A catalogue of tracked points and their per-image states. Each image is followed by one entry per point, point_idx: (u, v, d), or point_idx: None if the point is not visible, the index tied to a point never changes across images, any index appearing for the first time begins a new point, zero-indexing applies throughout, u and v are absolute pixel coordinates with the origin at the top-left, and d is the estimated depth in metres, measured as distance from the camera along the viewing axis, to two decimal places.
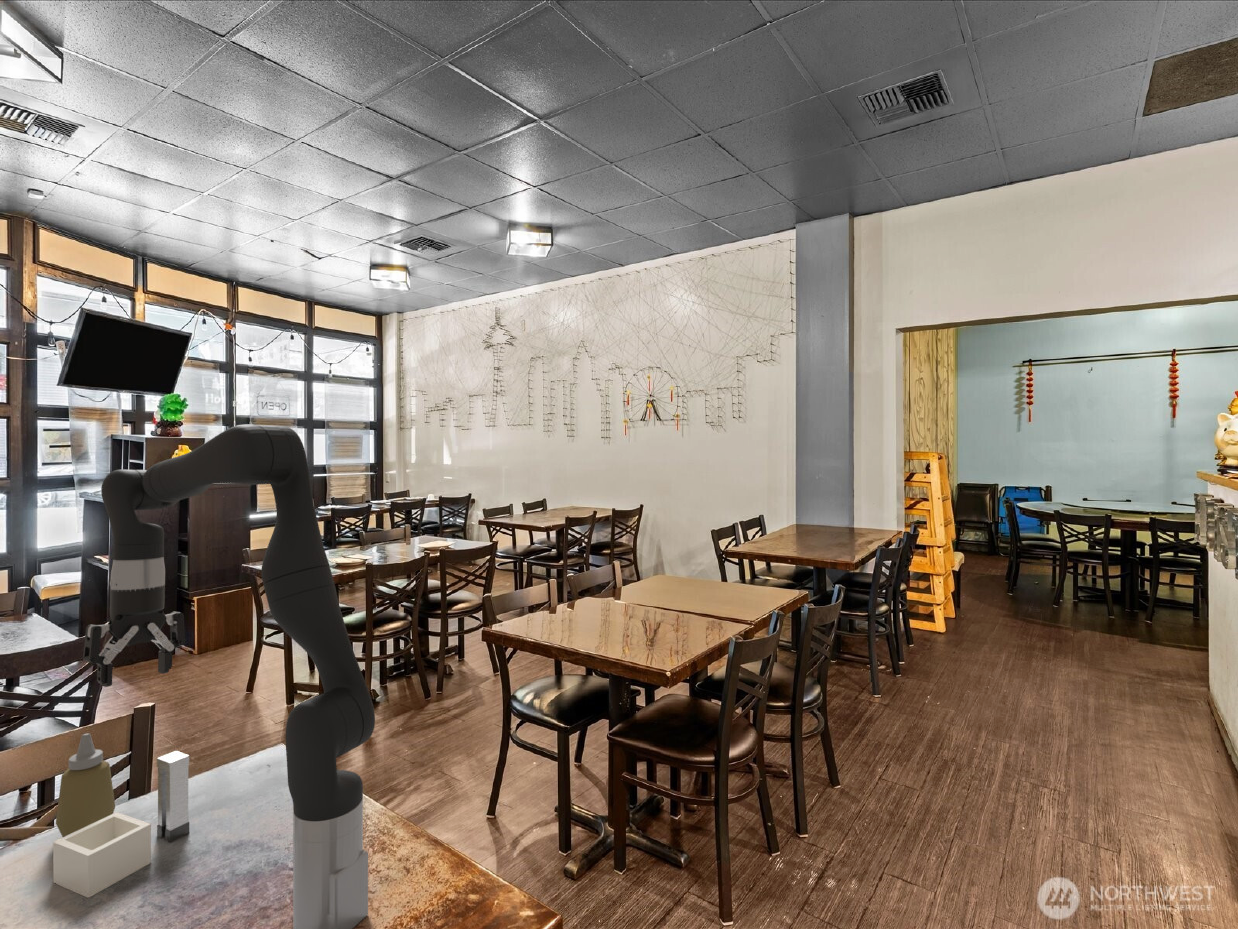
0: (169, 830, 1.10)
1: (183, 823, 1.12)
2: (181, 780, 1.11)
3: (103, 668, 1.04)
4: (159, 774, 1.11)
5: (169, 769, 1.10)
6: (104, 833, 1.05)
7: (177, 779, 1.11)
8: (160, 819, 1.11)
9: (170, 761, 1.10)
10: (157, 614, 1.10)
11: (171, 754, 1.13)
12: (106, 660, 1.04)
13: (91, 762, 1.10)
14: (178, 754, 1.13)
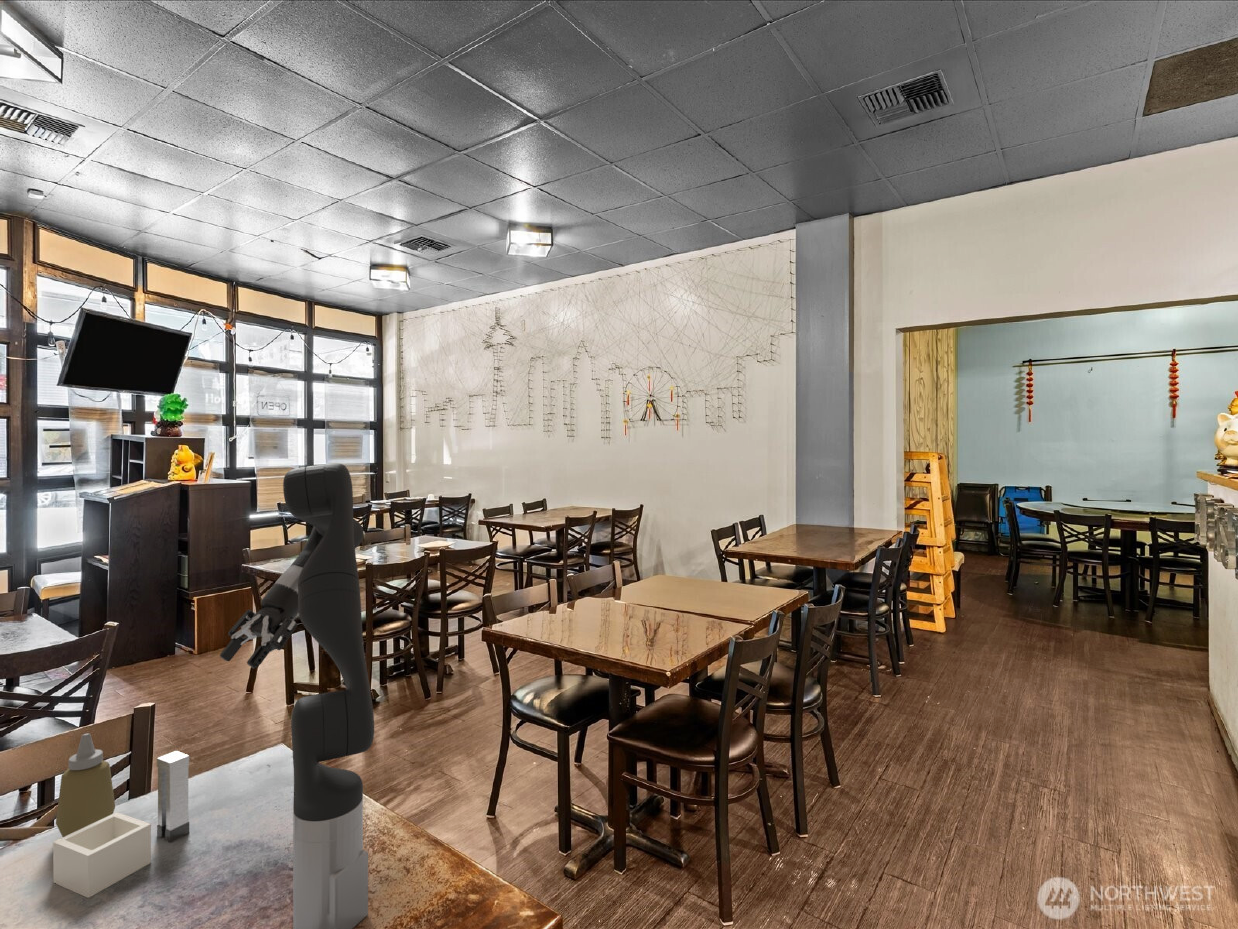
0: (169, 830, 1.10)
1: (183, 823, 1.12)
2: (181, 780, 1.11)
3: (230, 642, 1.26)
4: (159, 774, 1.11)
5: (169, 769, 1.10)
6: (104, 833, 1.05)
7: (177, 779, 1.11)
8: (160, 819, 1.11)
9: (170, 761, 1.10)
10: (278, 614, 1.27)
11: (171, 754, 1.13)
12: (233, 635, 1.26)
13: (91, 762, 1.10)
14: (178, 754, 1.13)
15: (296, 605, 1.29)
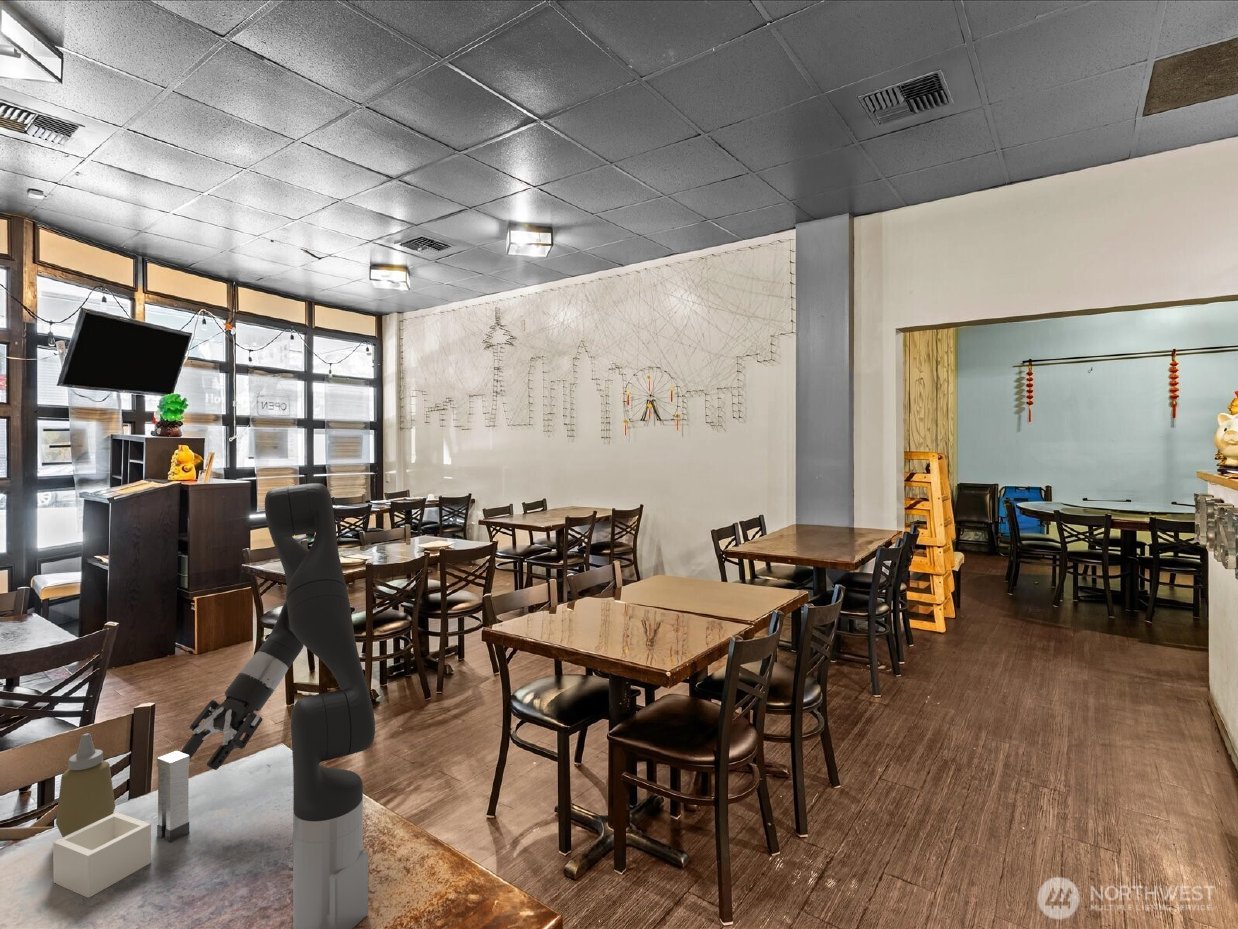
0: (169, 830, 1.10)
1: (183, 823, 1.12)
2: (181, 780, 1.11)
3: (191, 738, 1.19)
4: (159, 774, 1.11)
5: (169, 769, 1.10)
6: (104, 833, 1.05)
7: (177, 779, 1.11)
8: (160, 819, 1.11)
9: (170, 761, 1.10)
10: (242, 707, 1.20)
11: (171, 754, 1.13)
12: (195, 730, 1.20)
13: (91, 762, 1.10)
14: (178, 754, 1.13)
15: (262, 696, 1.22)
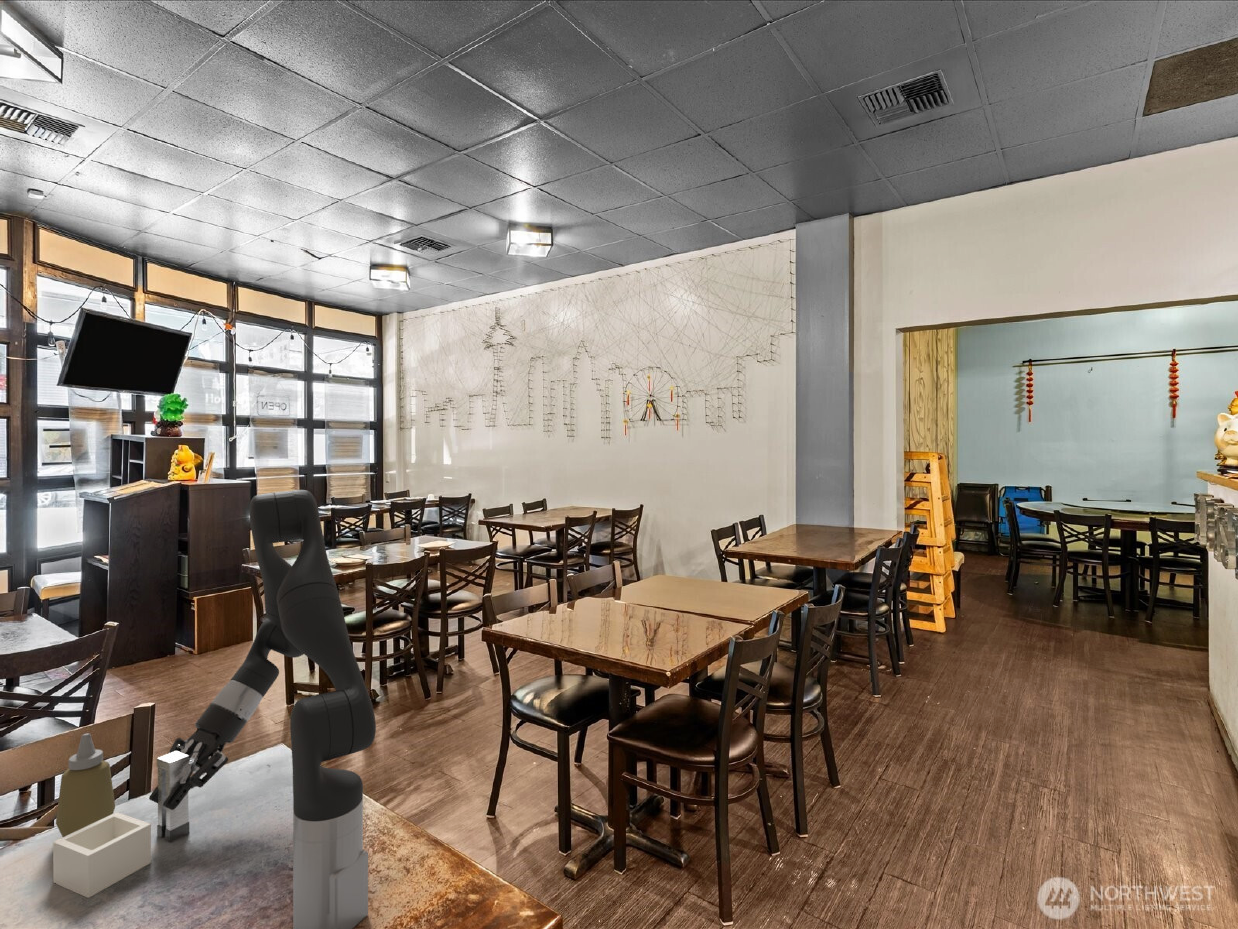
0: (169, 830, 1.10)
1: (183, 823, 1.12)
2: None
3: None
4: (159, 774, 1.11)
5: (169, 769, 1.10)
6: (104, 833, 1.05)
7: (177, 779, 1.11)
8: (160, 819, 1.11)
9: (170, 761, 1.10)
10: (213, 740, 1.15)
11: (171, 754, 1.13)
12: None
13: (91, 762, 1.10)
14: (178, 754, 1.13)
15: (234, 728, 1.18)
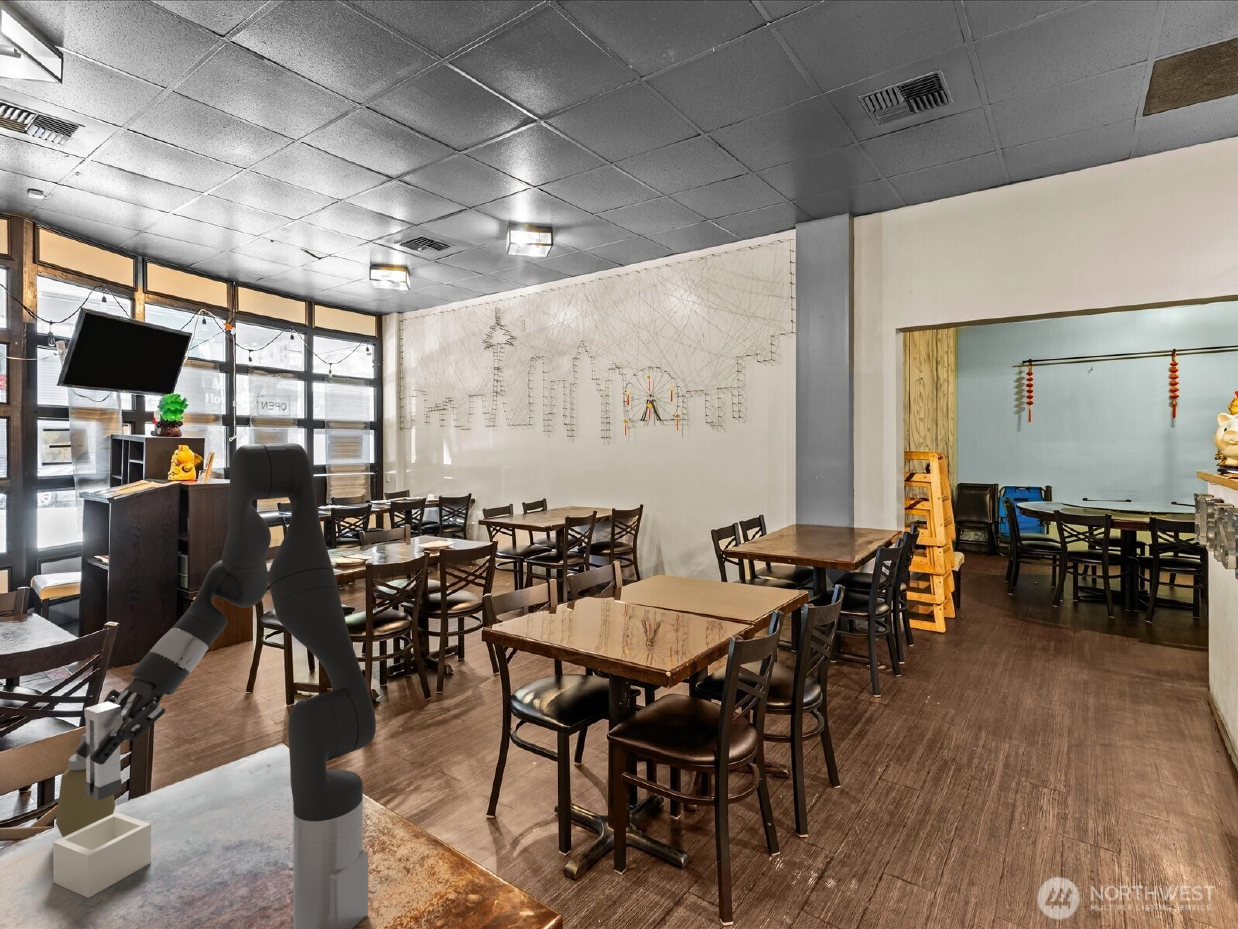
0: (98, 787, 1.00)
1: (114, 780, 1.01)
2: None
3: None
4: (87, 726, 1.01)
5: (97, 719, 0.99)
6: (104, 833, 1.05)
7: (107, 731, 1.00)
8: (88, 776, 1.01)
9: (98, 711, 1.00)
10: (149, 690, 1.05)
11: (101, 704, 1.02)
12: None
13: None
14: (109, 705, 1.02)
15: (173, 678, 1.07)
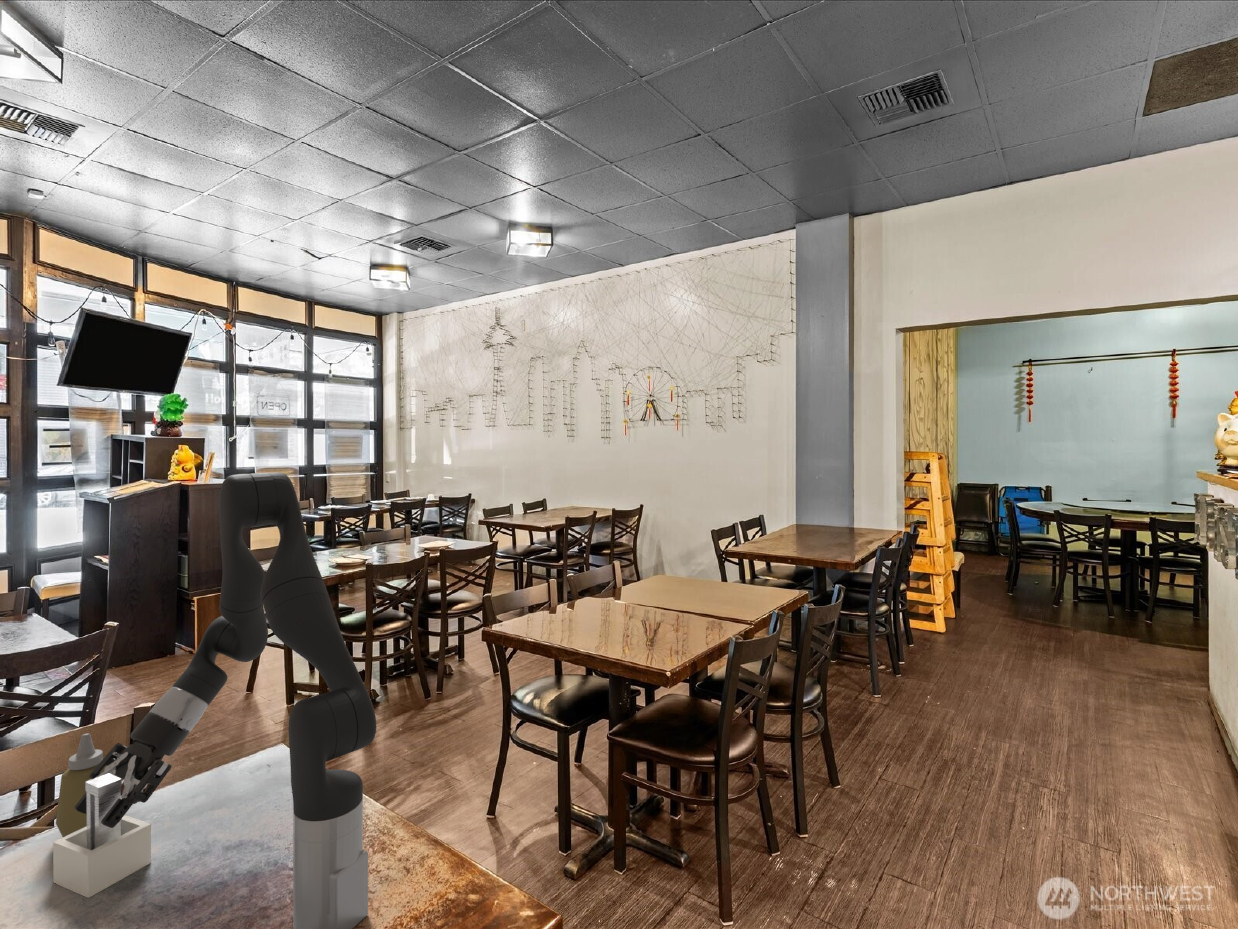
0: None
1: None
2: None
3: None
4: (88, 799, 1.01)
5: (97, 794, 1.00)
6: None
7: (107, 805, 1.01)
8: (89, 849, 1.01)
9: (99, 786, 1.00)
10: (149, 752, 1.05)
11: (102, 777, 1.02)
12: None
13: (91, 762, 1.10)
14: (110, 777, 1.02)
15: (173, 739, 1.07)
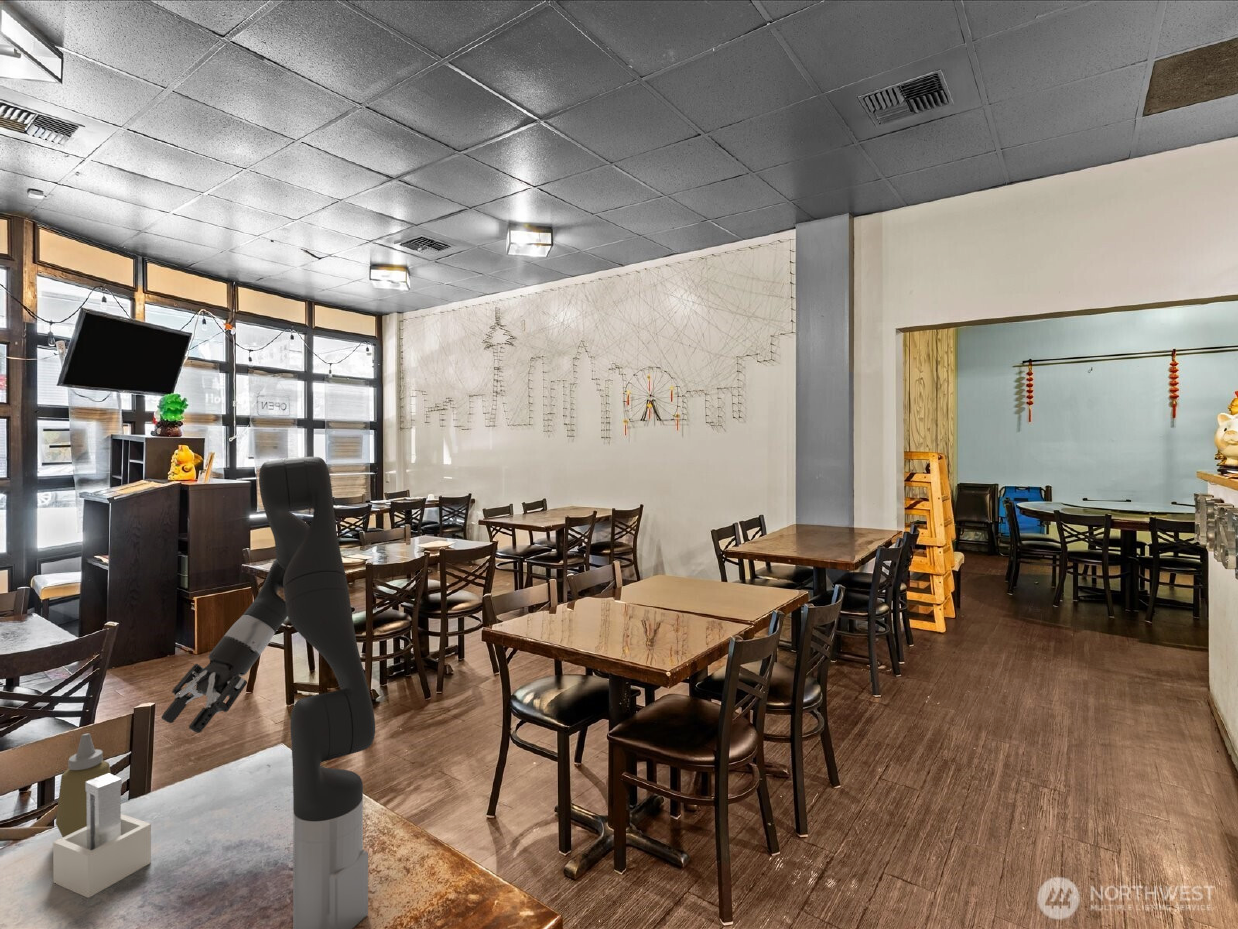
0: None
1: None
2: (112, 806, 1.01)
3: (173, 702, 1.16)
4: (88, 799, 1.01)
5: (97, 794, 1.00)
6: None
7: (107, 805, 1.01)
8: (89, 849, 1.01)
9: (99, 786, 1.00)
10: (226, 670, 1.17)
11: (102, 777, 1.02)
12: (177, 694, 1.16)
13: (91, 762, 1.10)
14: (110, 777, 1.02)
15: (247, 660, 1.19)
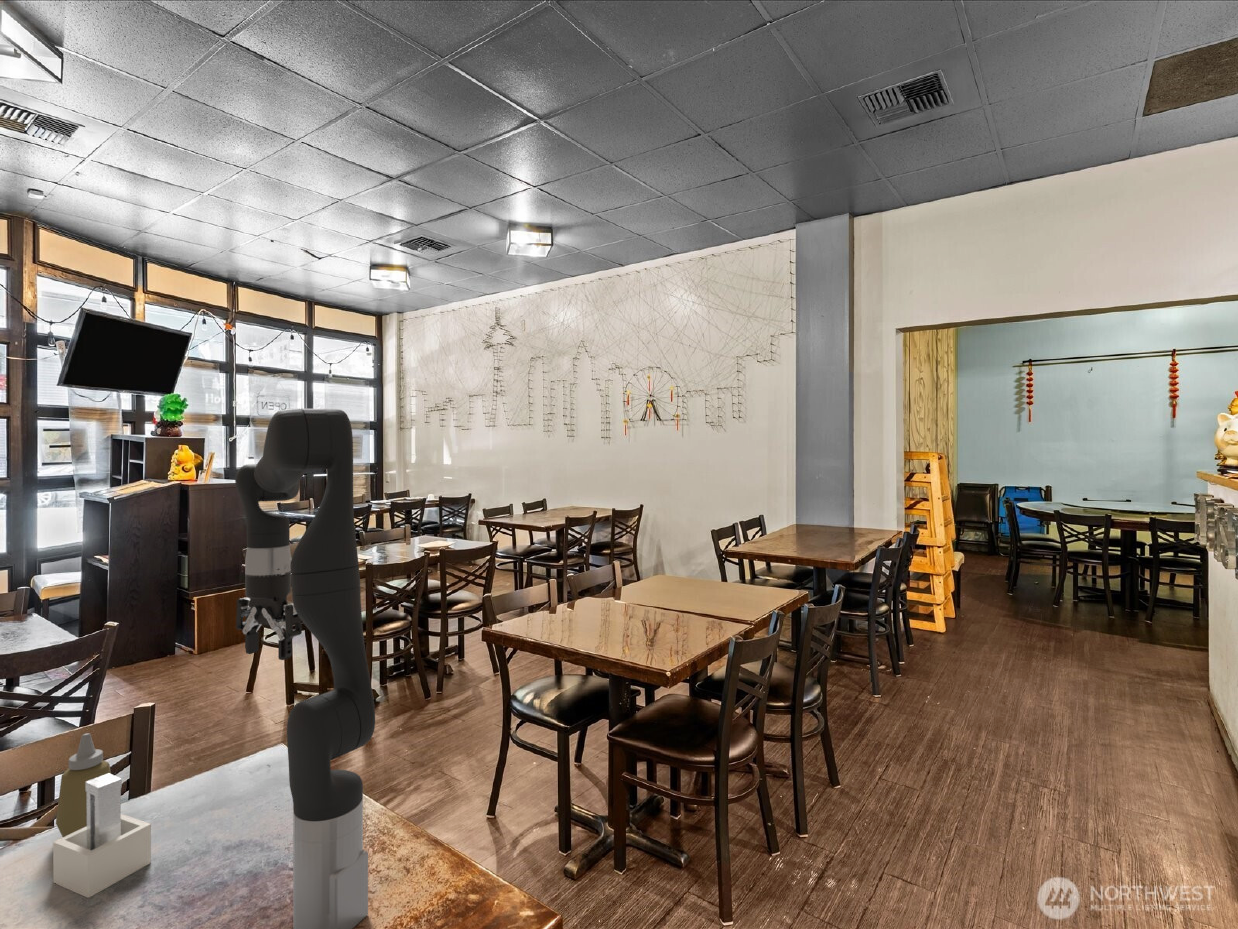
0: None
1: None
2: (112, 806, 1.01)
3: (246, 637, 1.19)
4: (88, 799, 1.01)
5: (97, 794, 1.00)
6: None
7: (107, 805, 1.01)
8: (89, 849, 1.01)
9: (99, 786, 1.00)
10: (273, 602, 1.16)
11: (102, 777, 1.02)
12: (244, 630, 1.19)
13: (91, 762, 1.10)
14: (110, 777, 1.02)
15: (284, 584, 1.17)
